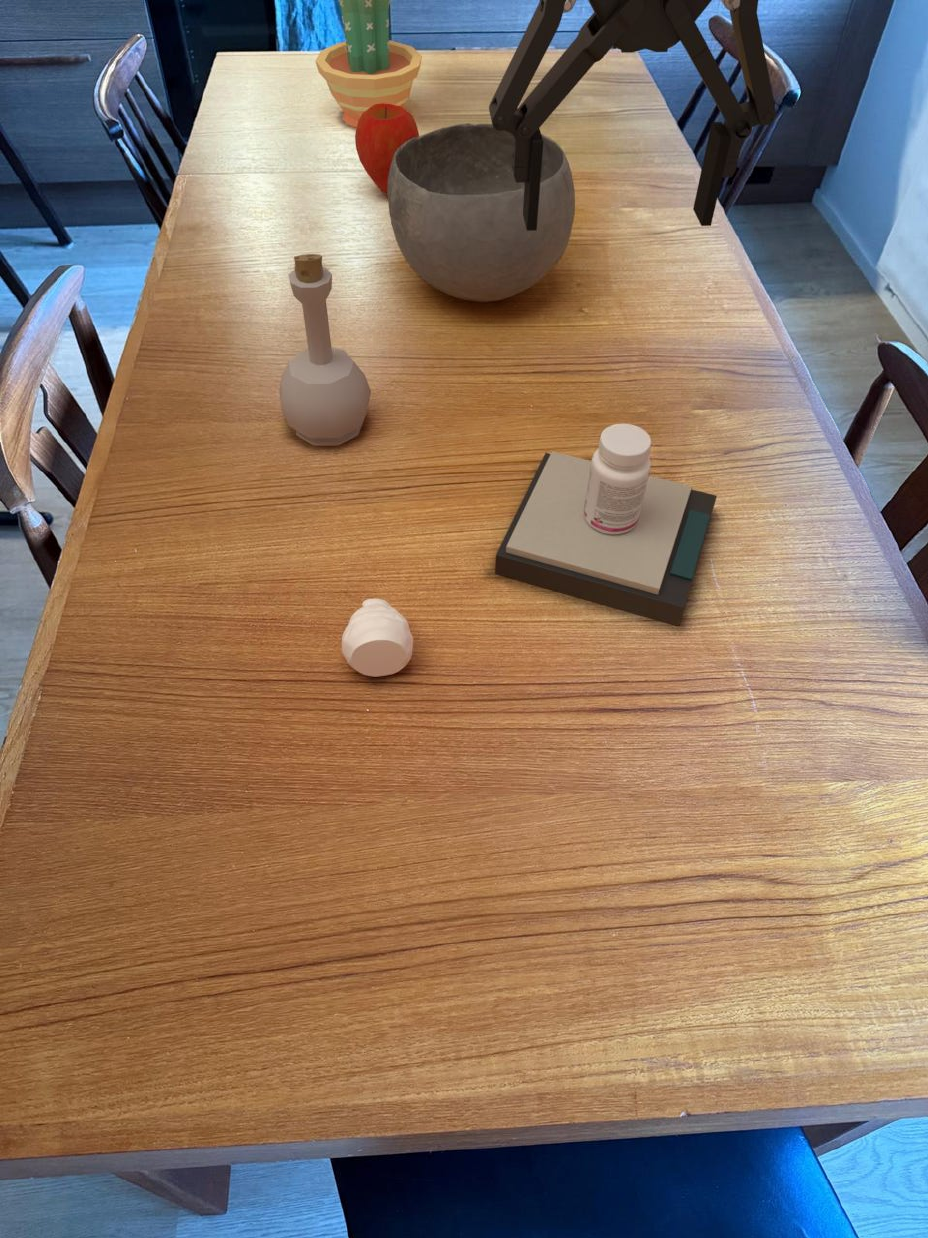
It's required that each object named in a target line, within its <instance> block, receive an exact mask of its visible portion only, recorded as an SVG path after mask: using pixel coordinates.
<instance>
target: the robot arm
mask: <svg viewBox="0 0 928 1238" xmlns="http://www.w3.org/2000/svg"><path fill="white" fill-rule="evenodd" d="M577 1H578V0H539V2H538V5H537V6H536V8H535V11H534V13H533V14H532V17H531V18H530V21H529V23H528V24H527V27H526V29H525V31H524V33H523V35H522V37H521V39H520V41H519V43H518V45H517V48H516V50H515V52H514V54H513V56H512V58H511V59H510V61H509V64H508V65H507V68H506V69H505V72H504V74H503V75H502V78H501V80H500V82H499V84H498V87H497V89H496V90H495V92H494V95H493V96H492V98H491V101H490V103H489V106H488V111H489V116H490V120H491V124H492V125H493V127H494V128H495V129H496V130H498V131H503V130H505V131H507V132H510V133H511V134H512V135H513V151H512V171H513V175H514V178H515V181H516V183H522V182H525V186H524V202H523V217H524V221H525V225H526V229H527V231H535V230H537V219H538V206H539V193H540V180H541V168H542V155H543V138H542V135H541V134H542V133H541V127H542V126H543V124H544V123H545V122H546V121H547V120H548V119H549V117H551V115H552V114H553V113H554V112H555V110H557V108H558V107H559V106H560V104H561V103H562V102H563V100H565V98H567V96H569V94H570V93H571V91H572V90H574V88H575V87H576V86H577V84H578V83H579V82H580V81H581V80H582V79H583V78H584V76H585V75H586V74H587V73H588V72H589V70H591V68H592V67H593V66H594V65H595V64H596V63H597V62H598V63H599V62H600V61H601V60H602V59H603V58H604V57H605V56H606V55H607V54H608V53H609V52H610V50H611V49H612V48H613V47H614V48H615V49H618V50H620V52H621V53H625V54H626V53H627V54H629V53H631V54H632V53H636V52H639V51H642V50H648V51H651V52H655V53H668V50H669V49H671V48H673V47H674V46H676V45H677V44H678V43H679V42H680V43H681V44H682V47H683V48H684V50H685V51H686V53H687V55H688V57H689V58H690V60H691V63H692V64H693V66H694V67H695V69H696V71H697V72H698V74H699V76H700V79H701V80H702V82H703V83H704V85H705V87H706V89H707V90H708V92H709V94H710V96H711V97H712V100H713V101H714V102H715V103H714V104H715V105H716V106H717V108H718V111H720V113H721V115H722V118H723V120H724V121H711V123H710V128H709V132H708V136H707V142H706V147H705V152H704V155H703V156H704V157H703V161H702V166H701V171H700V174H699V180H698V184H697V189H696V193H695V198H694V202H693V208H692V210H693V212H694V214H695V216H696V218H697V221H698V222H699V224H700V226H701V227H711V226H712V223H713V218H714V214H715V210H716V206H717V202H718V197H719V193H720V188H721V184H722V181H723V178H732V177H733V175H734V174H735V172H736V171H737V167H738V162H739V158H740V154H741V151H742V146H743V141H744V140H746V139H748V138H749V137H750V136H751V134H752V132H753V127H757V126H760V125H762V126H768V125H770V124H772V123H773V122H774V121H775V120H776V118H777V109H776V104H775V101H774V100H775V99H774V94H773V89H772V84H771V79H770V73H769V68H768V64H767V63H768V62H767V59H766V58H767V57H766V52H765V47H764V42H763V37H762V31H761V27H760V22H759V21H760V20H759V17H758V7H759V0H720V2H721V3H722V5H723V6H724V8H726V9H727V11H729V15H730V20H731V25H732V26H731V27H732V31H733V34H734V40H735V44H736V49H737V52H738V58H739V63H740V67H741V72H742V76H743V77H742V78H743V82H744V86H745V91H746V95H747V101H745V102H742V103H739V101H738V99H737V97H736V96H735V94H734V91H733V90H732V88H731V86H730V84H729V83H728V80H727V79H726V77H725V76H724V73H723V72H722V70H721V68H720V66H719V64H718V62H717V60H716V59H715V56H714V55H713V53H712V51H711V49H710V48H709V45H708V43H707V41H706V39H705V38H704V36H703V34H702V33H701V32H702V31H700V29H699V27H698V25H697V23H696V21H697V20H698V19H699V18H700V16H701V15H702V13H704V11H705V10H706V9H707V7H708V6H709V5H710V3H712V1H713V0H587V1H588V2H589V5H590V7H591V9H592V10H593V12H592V14H591V15H590V16H589V17H588V19H587V20H586V21H585V22H584V23H583V25H582V26H581V27H580V29H579V30H578V34H577V35H576V38H575V39H573V41H572V42H571V43H570V44H569V46H568V47H567V48H566V50H564V52H563V53H562V54H561V56H560V57H559V58H558V59H557V60H556V62H555V63H554V64H553V65H552V66H551V67H550V69H549V70H548V72H546V74H545V75H544V76H543V77H542V78H541V80H540V81H538V83H537V84H536V86H535V87H534V88H533V89H532V91H531V92H530V93H529V94H528V95H527V97H526V98H525V99H524V100H523V98H524V96H525V94H526V92H527V90H528V88H529V87H530V84H531V82H532V81H533V79H534V76H535V74H536V72H537V71H538V69H539V66H540V64H541V63H542V61H543V59H544V57H545V55H546V53H547V51H548V49H549V47H550V45H551V43H552V41H553V39H554V37H555V35H556V33H557V32H558V29H559V26H560V24H561V21H562V18H563V14H566V13H569V12H571V11H572V9H573V8H574V7H575V4H576V2H577ZM522 100H523V102H522ZM521 102H522V103H521Z"/></svg>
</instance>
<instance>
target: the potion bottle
mask: <svg viewBox="0 0 928 1238" xmlns="http://www.w3.org/2000/svg"><path fill="white" fill-rule="evenodd" d="M293 259H294V260H293V261H294V267H293V268H294V269H293V270H292V271H291V272H289V273H288V280H289V285H290V288H291V291H292V294H293V297H294V298H295V299H297V300H298V302H299V303H300V304H301V307H302V314H303V320H304V321H303V322H304V327H305V329H304V330H305V335H306V343H307V349H302V350H301V351H300V352H298V353H297V354H296V355H295V356H294V357H293V358H291V359H290V360H289V361H288V363H287V365H286V366H285V368H284V370H283V372H282V373H281V375H280V384H279V401H280V408H281V409H280V410H281V413H282V415H283V417H284V419H285V421H286V423H287V425H288V427H289V428H291V429H293V430H295V435H296V436H297V437H298V438H299V439H301V440H304V441H305V442H306V443H308V444H310V445H312V446H315V447H316V446H317V447H320V446H322V447H323V446H324V447H325V446H326V447H329V446H332V447H335V446H336V447H337V446H341V445H343V444H344V443H347V442H348V441H351V440H353V439H354V438H356V437H358V436H359V434H360V432H361V428H362V426H363V424H364V421H365V418H366V416H367V412H368V409H369V404H370V399H371V394H372V390H371V387H370V385H369V382H368V380H367V376H366V374H365V373H364V372H363V371H362V369H361V368H360V367H359V365H357V363H356V362H355V361H354V360H353V359H352V358H351V356H350V355H349V354H348V352H346V351H345V350H344V349H340V348H336V347H332V340H331V339H332V338H331V332H330V323H329V315H328V307H327V305H328V304H327V299H328V298H329V296H330V293H331V291H332V289H333V287H332V286H333V273H332V272H331V271H330V270H329V269H328V268H327V267H325V266H323V256H322V255H321V254H318V253H317V254H316V253H306V254H299V255H296V256H293Z"/></svg>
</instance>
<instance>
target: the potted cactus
mask: <svg viewBox="0 0 928 1238" xmlns="http://www.w3.org/2000/svg"><path fill="white" fill-rule="evenodd" d="M337 1H338V4H339V6H340V7H339V8H340V14H341V19H342V27H343V35H344V41H343V42H337V43H335V44H333V45H331V46H328V47H326V48H324V49H322V50H320V51H319V53H318V55H317V57H316V59H315V66H316V68H317V72H318V74H320V76H321V77H322V78H323V79H324V81H325V82H326V84H327V87H328V89H329V92H330V94H331V96H332V97H333V99H334V101H335V102H336V103H337V104H338V105H339V107H340V108H341V110H342V111H343V113H342V120H343V121H344V122H345V124H346V125H348V126H350V127H352V128H357V124H358V120H359V119H360V117H361V115H362V113H363V112H365V111H366V110H367V109H369V108H370V107H372V106H373V105H375V104H381V103H383V104H392V105H397V106H400V107H403V108H404V106H405V105H406V102H407V101H408V99H409V96H410V93H411V90H412V86H413V83H414V79H416V78H418V76H419V73H420V70H421V66H422V59H423V55H422V54H421V53H420V52H419V51H418V50H417V49H415V48H414V47H413V46H412V45H409V44H404V43H402V42H399V41H398V42H397V41H394V40H391V39H390V13H389V12H390V6H391V2H392V0H337Z"/></svg>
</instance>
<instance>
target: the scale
mask: <svg viewBox="0 0 928 1238" xmlns="http://www.w3.org/2000/svg"><path fill="white" fill-rule="evenodd" d="M591 461H592V460H589V459H586V458H582V457H577V456H574V455H569V454H565V453H561V452H557V451H551V452H550V453H548V452H545V453H544V455H543V457H542V459H541V461H540V463H539V466H538V467H537V470H536V472H535V473H534V476H533V478H532V480H531V481H530V484H529V486H528V488H527V490H526V492H525V494H524V496H523V498H522V501H520V502H521V503H520V504H519V507H518V509H517V510H516V513H515V515H514V517H513V519H512V521H511V523H510V525H509V526H508V529H507V531H506V533H505V535H504V537H503V540H502V542H501V543H500V546H499V548H498V550H497V552H496V553H495V563H494V564H495V566H494V574H495V575H498V576H502V577H505V578H510V579H512V580H516V581H518V582H519V581H520V582H522V583H526V584H530V585H533V586H537V587H540V588H542V589H543V588H544V589H547V590H551V591H554V592H557V593H561V594H565V595H569V596H572V597H576V598H578V599H582V600H586V601H589V602H593V603H596V604H600V605H604V606H607V607H609V608H614V609H618V610H621V611H624V612H628V613H631V614H635V615H638V616H641V617H645V618H649V619H652V620H656V621H658V622H659V621H660V622H663V623H667V624H670V625H673V626H677V627H679V626H680V624H681V621H682V618H683V615H684V612H685V609H686V605H687V602H688V598H689V596H690V592H691V587H692V584H693V581H694V578H695V574H696V571H697V566H698V564H699V560H700V556H701V553H702V549H703V546H704V542H705V539H706V536H707V532H708V528H709V525H710V521H711V518H712V515H713V511H714V508H715V504H716V501H717V496H718V495H716V494H712V493H709V492H705V491H700V490H696V489H693V486H692V485H689V484H686V483H685V484H684V483H680V482H678V481H677V482H676V481H673V480H670V479H665V478H660V477H657V476H652V475H649V477H648V481H647V486H646V490H645V494H644V499H643V503H642V508H641V512H640V517H639V520H638V523H637V525H636V526H635V527H634V528H633V529H632V530H630V531H628V532H625V533H622V534H605V533H602V532H599V531H597V530H595V529H594V528H592V527H591V526H590V525H589V524H588V523H587V521H586V519H585V517H584V504H585V498H586V492H587V486H588V480H589V473H590V467H591Z"/></svg>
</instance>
